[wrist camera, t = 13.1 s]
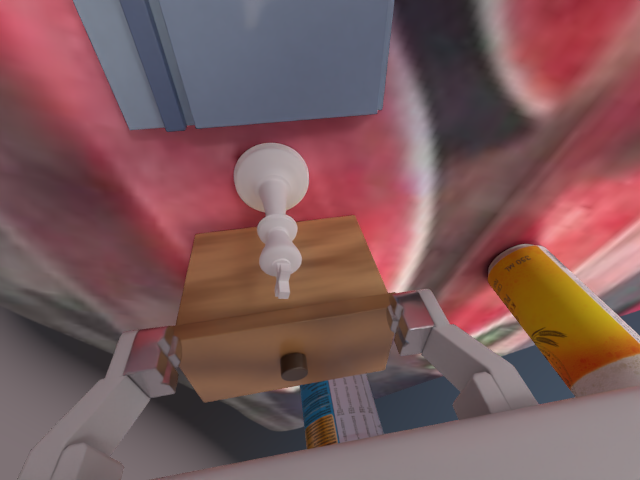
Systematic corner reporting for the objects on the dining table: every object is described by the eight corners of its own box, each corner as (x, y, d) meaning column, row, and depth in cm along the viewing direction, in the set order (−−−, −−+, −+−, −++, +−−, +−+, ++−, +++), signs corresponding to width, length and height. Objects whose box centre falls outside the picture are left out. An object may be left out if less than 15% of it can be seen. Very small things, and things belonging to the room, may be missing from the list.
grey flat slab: (43, -88, 11) (21, -94, 10) (398, -89, 13) (411, -95, 12) (133, 125, 17) (125, 135, 16) (378, 106, 18) (386, 114, 17)
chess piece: (316, 149, 19) (356, 257, 12) (300, 211, 22) (324, 329, 15) (236, 135, 18) (226, 248, 11) (231, 204, 21) (220, 329, 14)
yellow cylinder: (471, 274, 31) (592, 440, 20) (520, 232, 28) (696, 400, 17) (505, 287, 34) (629, 440, 23) (553, 249, 31) (723, 405, 20)
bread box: (189, 230, 22) (157, 362, 15) (358, 210, 23) (409, 321, 16) (215, 296, 27) (201, 419, 20) (353, 277, 28) (389, 384, 21)
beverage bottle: (363, 336, 36) (442, 594, 21) (361, 369, 41) (422, 591, 26) (291, 350, 35) (321, 626, 20) (300, 381, 41) (327, 616, 26)
